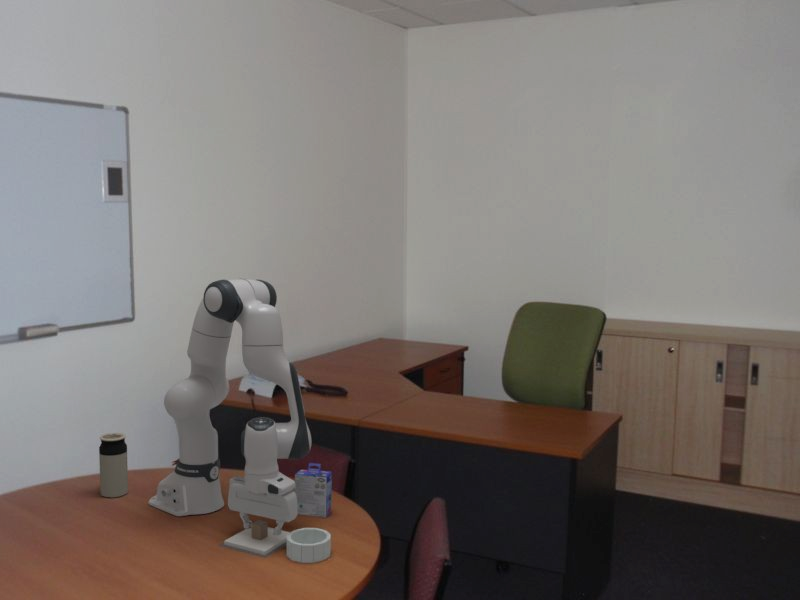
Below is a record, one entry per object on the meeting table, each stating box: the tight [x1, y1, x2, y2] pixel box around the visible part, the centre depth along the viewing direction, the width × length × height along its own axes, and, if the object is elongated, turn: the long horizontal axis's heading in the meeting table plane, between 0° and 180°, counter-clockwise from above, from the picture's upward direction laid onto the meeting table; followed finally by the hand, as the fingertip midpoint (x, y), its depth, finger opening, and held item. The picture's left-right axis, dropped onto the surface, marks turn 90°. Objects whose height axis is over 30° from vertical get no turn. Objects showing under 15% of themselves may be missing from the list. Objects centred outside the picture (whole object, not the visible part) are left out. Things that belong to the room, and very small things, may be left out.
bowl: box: [286, 527, 332, 564], centre depth 211 cm, size 11×11×5 cm
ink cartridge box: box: [294, 462, 333, 519], centre depth 239 cm, size 10×6×14 cm, turn 78°
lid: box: [223, 519, 291, 555], centre depth 218 cm, size 13×13×5 cm
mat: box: [218, 541, 287, 558], centre depth 219 cm, size 15×15×1 cm
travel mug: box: [98, 432, 129, 499], centre depth 251 cm, size 8×8×18 cm
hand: (262, 531), depth 219 cm, fingers open, 8 cm apart
